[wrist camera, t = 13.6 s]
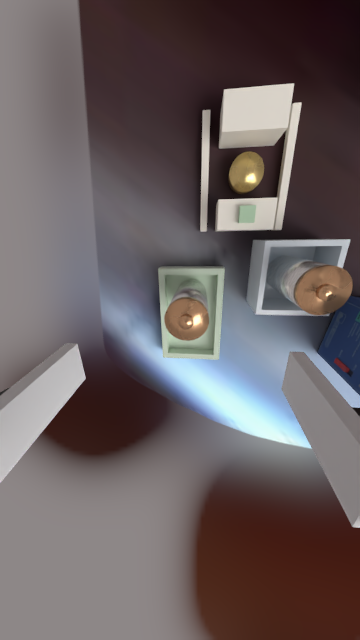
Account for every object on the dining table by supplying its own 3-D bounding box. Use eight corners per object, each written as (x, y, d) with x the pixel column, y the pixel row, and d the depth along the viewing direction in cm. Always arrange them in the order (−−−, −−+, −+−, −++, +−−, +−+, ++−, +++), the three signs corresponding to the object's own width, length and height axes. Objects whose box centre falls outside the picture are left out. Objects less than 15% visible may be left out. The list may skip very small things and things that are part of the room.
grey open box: (252, 239, 26) (265, 240, 21) (320, 238, 25) (350, 239, 20) (246, 300, 29) (255, 314, 24) (306, 301, 29) (329, 316, 23)
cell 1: (175, 279, 29) (161, 300, 19) (207, 279, 28) (209, 300, 18) (176, 309, 30) (164, 343, 20) (206, 309, 30) (208, 343, 20)
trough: (161, 266, 29) (158, 268, 27) (223, 266, 28) (224, 268, 26) (165, 350, 34) (163, 357, 32) (217, 352, 33) (218, 359, 31)
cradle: (202, 115, 22) (202, 86, 18) (297, 108, 21) (321, 76, 17) (200, 231, 26) (200, 230, 22) (278, 230, 26) (293, 228, 21)
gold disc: (229, 157, 23) (231, 152, 22) (262, 156, 23) (266, 150, 21) (226, 194, 24) (228, 192, 23) (257, 193, 24) (261, 190, 23)
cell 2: (267, 255, 26) (306, 266, 16) (303, 255, 26) (365, 266, 16) (262, 289, 28) (295, 317, 18) (296, 289, 27) (348, 318, 18)
